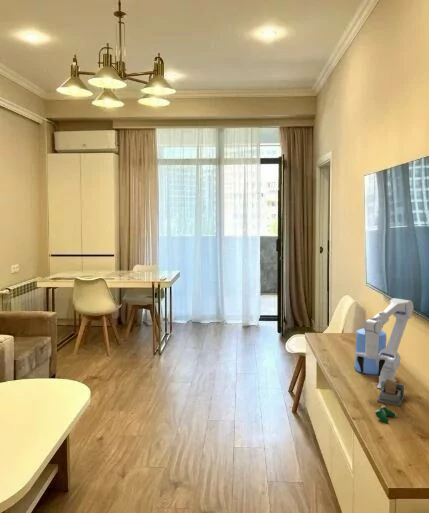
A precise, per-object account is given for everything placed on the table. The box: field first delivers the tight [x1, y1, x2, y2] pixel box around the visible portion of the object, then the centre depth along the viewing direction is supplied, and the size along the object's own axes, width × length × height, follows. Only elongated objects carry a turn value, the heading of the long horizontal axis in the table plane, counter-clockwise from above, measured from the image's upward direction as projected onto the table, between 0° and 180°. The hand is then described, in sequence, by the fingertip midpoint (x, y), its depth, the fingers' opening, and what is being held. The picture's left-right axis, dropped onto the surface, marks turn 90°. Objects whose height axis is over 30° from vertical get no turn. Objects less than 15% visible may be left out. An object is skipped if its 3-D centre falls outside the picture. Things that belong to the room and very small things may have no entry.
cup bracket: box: [376, 381, 405, 407], centre depth 229 cm, size 12×10×6 cm
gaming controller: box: [374, 405, 396, 424], centre depth 208 cm, size 9×4×6 cm
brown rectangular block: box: [385, 379, 397, 395], centre depth 228 cm, size 4×4×8 cm
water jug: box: [354, 327, 387, 376], centre depth 269 cm, size 16×16×28 cm
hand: (370, 374), depth 235 cm, fingers open, 7 cm apart
